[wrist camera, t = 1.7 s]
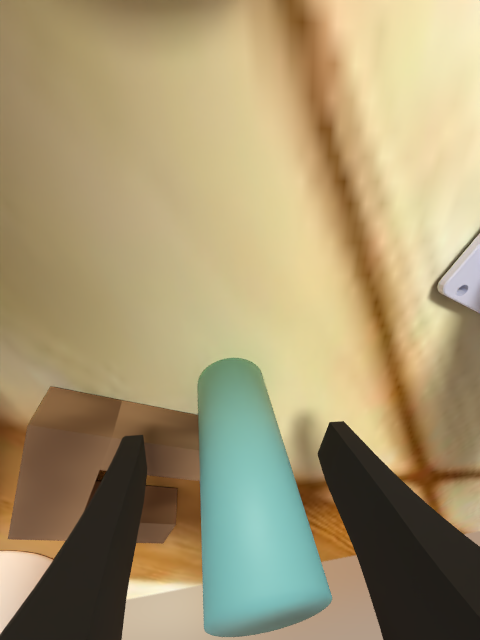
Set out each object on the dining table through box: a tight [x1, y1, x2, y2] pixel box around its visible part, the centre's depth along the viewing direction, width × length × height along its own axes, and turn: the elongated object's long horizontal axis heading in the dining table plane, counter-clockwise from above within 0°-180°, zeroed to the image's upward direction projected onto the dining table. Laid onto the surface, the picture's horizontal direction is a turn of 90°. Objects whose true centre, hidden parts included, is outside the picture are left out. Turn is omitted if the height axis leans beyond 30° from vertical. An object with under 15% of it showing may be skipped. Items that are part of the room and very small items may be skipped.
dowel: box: [198, 358, 332, 637], centre depth 10 cm, size 3×3×8 cm
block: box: [8, 387, 200, 543], centre depth 14 cm, size 8×9×2 cm
